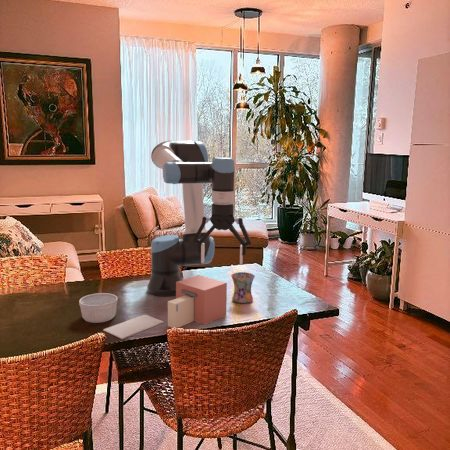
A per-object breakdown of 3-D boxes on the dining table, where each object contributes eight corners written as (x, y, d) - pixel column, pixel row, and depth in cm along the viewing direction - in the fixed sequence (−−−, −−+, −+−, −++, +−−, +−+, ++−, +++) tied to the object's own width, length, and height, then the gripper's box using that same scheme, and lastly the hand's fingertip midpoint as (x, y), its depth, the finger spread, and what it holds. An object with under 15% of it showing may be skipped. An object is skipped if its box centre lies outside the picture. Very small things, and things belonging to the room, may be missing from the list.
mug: (256, 304, 177) (257, 278, 175) (233, 305, 175) (234, 279, 173) (249, 294, 189) (249, 269, 187) (227, 295, 187) (227, 270, 185)
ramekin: (82, 327, 153) (81, 307, 152) (77, 313, 165) (77, 295, 164) (121, 321, 159) (120, 302, 157) (114, 308, 170) (113, 291, 169)
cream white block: (167, 326, 155) (167, 301, 153) (195, 314, 166) (195, 291, 164) (175, 329, 153) (174, 303, 151) (202, 317, 163) (203, 293, 162)
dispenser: (174, 315, 164) (174, 282, 162) (198, 306, 174) (198, 274, 172) (202, 325, 156) (202, 291, 153) (226, 315, 165) (226, 282, 163)
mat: (103, 330, 150) (103, 329, 150) (144, 315, 164) (144, 314, 164) (121, 339, 144) (121, 337, 144) (163, 322, 158) (163, 321, 158)
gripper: (184, 203, 152) (184, 264, 156) (258, 205, 149) (256, 267, 153) (189, 200, 159) (189, 258, 163) (259, 202, 156) (257, 261, 160)
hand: (221, 263), depth 158 cm, fingers open, 13 cm apart
